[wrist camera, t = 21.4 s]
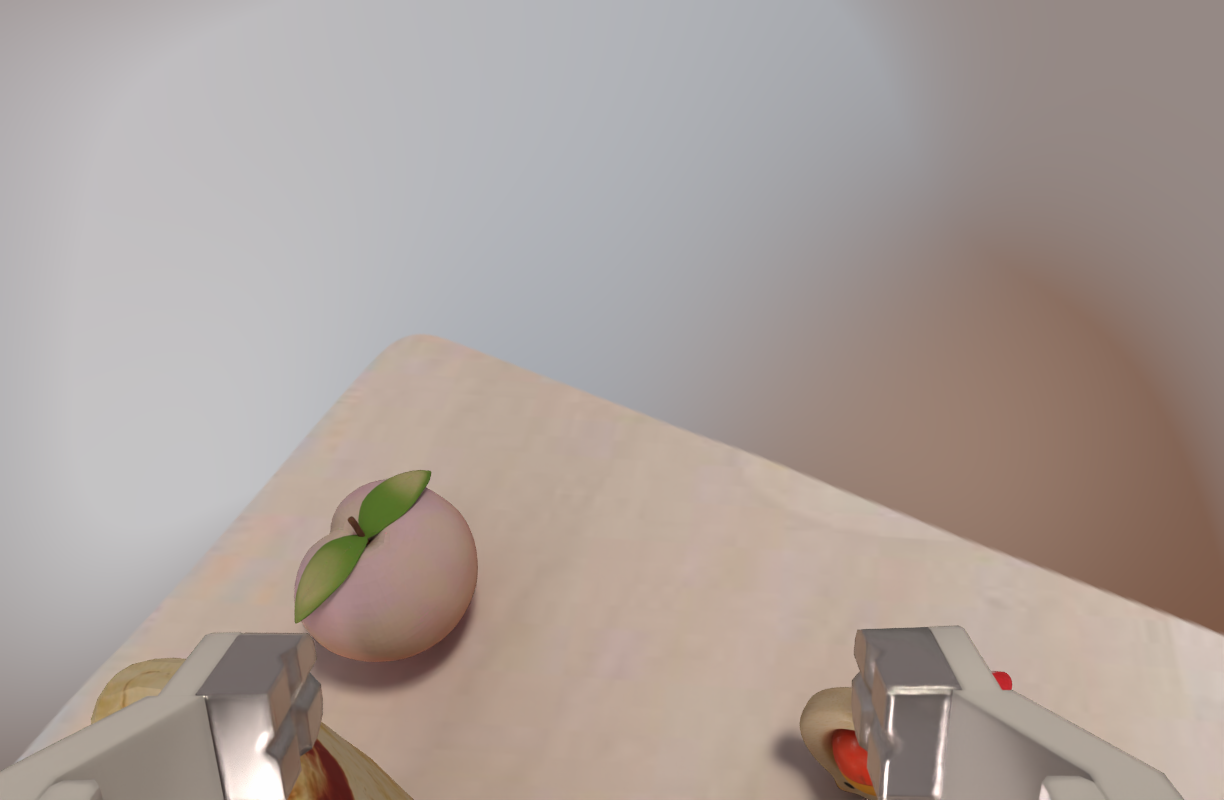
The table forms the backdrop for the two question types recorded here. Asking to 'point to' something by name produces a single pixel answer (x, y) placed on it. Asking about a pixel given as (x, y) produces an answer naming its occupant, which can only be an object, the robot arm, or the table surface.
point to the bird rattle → (844, 737)
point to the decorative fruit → (388, 572)
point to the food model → (331, 771)
